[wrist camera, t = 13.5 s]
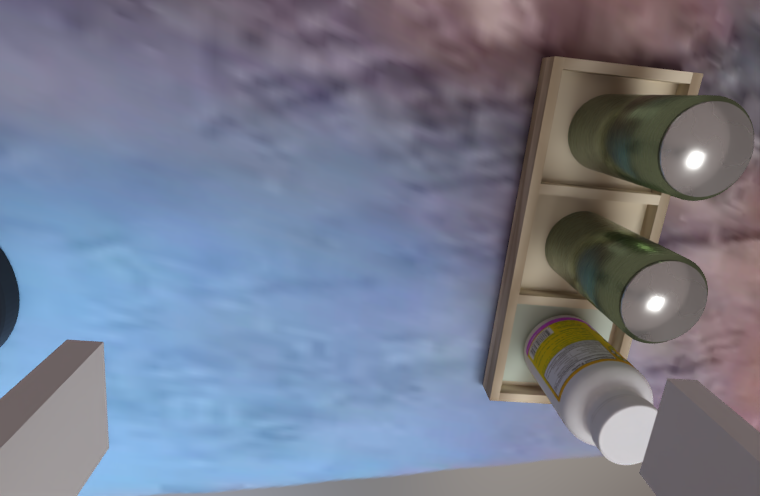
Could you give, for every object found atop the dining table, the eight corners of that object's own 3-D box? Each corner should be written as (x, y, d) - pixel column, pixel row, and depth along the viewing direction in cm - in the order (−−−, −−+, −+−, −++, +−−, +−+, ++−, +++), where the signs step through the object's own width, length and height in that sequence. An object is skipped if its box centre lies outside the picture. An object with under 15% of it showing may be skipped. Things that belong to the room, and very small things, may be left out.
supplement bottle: (596, 370, 48) (683, 467, 35) (526, 385, 48) (587, 488, 35) (591, 304, 46) (681, 383, 33) (517, 319, 46) (580, 404, 33)
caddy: (482, 385, 49) (489, 400, 46) (542, 58, 40) (554, 56, 38) (601, 392, 50) (613, 407, 47) (682, 74, 41) (703, 73, 39)
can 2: (538, 275, 45) (607, 343, 33) (552, 208, 43) (630, 252, 31) (605, 281, 45) (696, 349, 33) (621, 214, 44) (723, 261, 32)
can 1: (561, 167, 42) (644, 197, 30) (576, 90, 40) (671, 90, 29) (631, 174, 43) (741, 206, 31) (649, 98, 41) (773, 101, 29)
